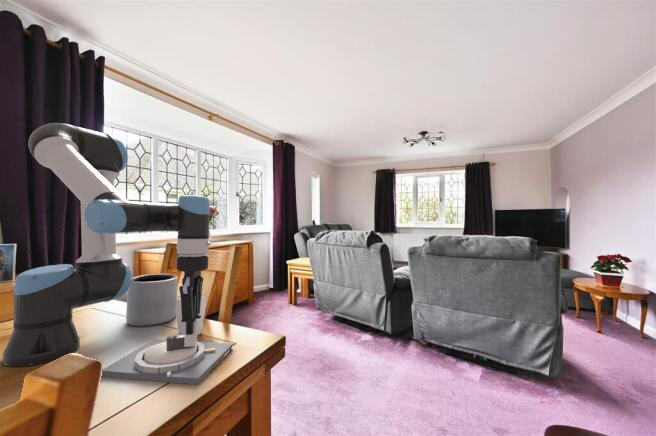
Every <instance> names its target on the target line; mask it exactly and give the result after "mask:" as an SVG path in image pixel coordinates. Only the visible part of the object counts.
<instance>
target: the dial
mask: <svg viewBox="0 0 656 436" xmlns="http://www.w3.org/2000/svg"><path fill="white" fill-rule="evenodd" d="M166 339H167V341H166V342H162V343H159V344H156V345H154V346H152V347H150V348H149V349H147V350H146V351H145V355H144V362H146V363H147V364H158V365H163V364H169V363H176V362H179V361H182V360H185V359H187V358H190V357H192V356H193V355H194V354H196V353H197V345H196V346H190V347H184V339H185V335H179V334H177V335H170V336H167V337H166Z"/></svg>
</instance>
